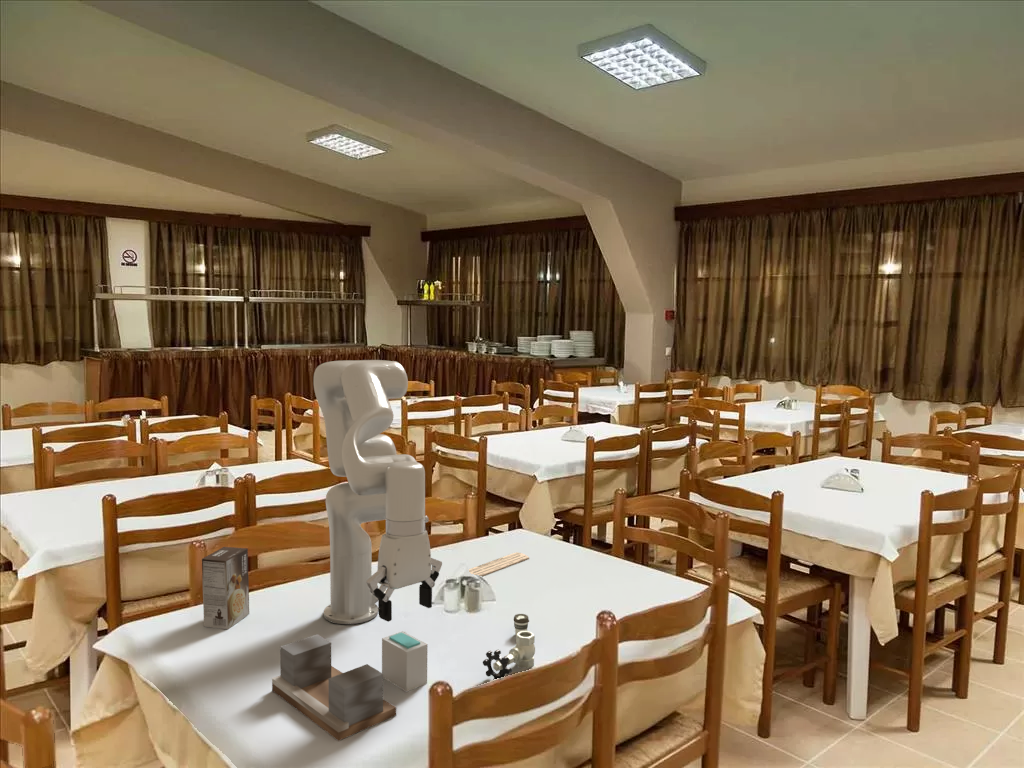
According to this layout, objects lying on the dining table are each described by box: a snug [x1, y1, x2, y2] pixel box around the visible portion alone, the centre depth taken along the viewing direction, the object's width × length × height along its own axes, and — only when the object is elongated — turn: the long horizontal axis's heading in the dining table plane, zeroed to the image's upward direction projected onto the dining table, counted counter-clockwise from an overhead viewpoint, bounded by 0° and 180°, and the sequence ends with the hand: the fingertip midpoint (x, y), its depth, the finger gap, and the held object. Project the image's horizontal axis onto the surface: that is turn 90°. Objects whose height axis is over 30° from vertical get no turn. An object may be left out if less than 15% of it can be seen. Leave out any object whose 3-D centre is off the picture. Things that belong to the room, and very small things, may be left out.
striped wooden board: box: [469, 552, 530, 578], centre depth 219 cm, size 24×7×2 cm, turn 139°
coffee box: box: [201, 546, 250, 630], centre depth 178 cm, size 9×6×16 cm
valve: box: [482, 630, 536, 680], centre depth 157 cm, size 7×7×12 cm
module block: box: [381, 630, 428, 693], centre depth 153 cm, size 5×8×8 cm, turn 45°
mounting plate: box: [271, 633, 397, 742], centre depth 144 cm, size 12×23×8 cm, turn 45°
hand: (405, 612), depth 151 cm, fingers open, 9 cm apart
